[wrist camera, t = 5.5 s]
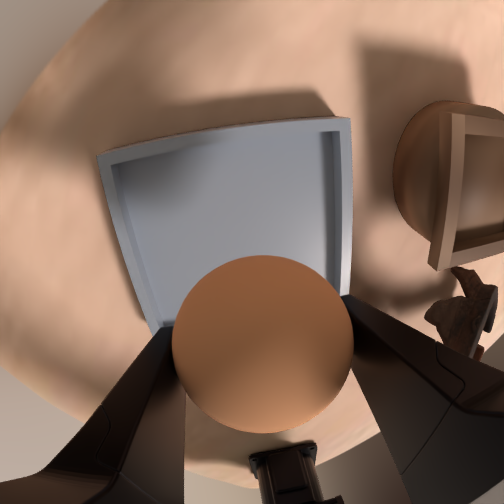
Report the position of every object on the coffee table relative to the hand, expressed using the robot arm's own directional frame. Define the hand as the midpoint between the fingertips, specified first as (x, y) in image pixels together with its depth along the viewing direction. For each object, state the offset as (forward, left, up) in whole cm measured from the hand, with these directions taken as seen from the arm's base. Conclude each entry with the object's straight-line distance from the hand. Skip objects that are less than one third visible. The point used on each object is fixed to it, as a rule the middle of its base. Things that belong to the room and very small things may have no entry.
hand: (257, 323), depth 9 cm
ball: (0, 0, +1) cm, 1 cm away
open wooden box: (+2, -12, -6) cm, 14 cm away
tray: (0, 0, -6) cm, 6 cm away
